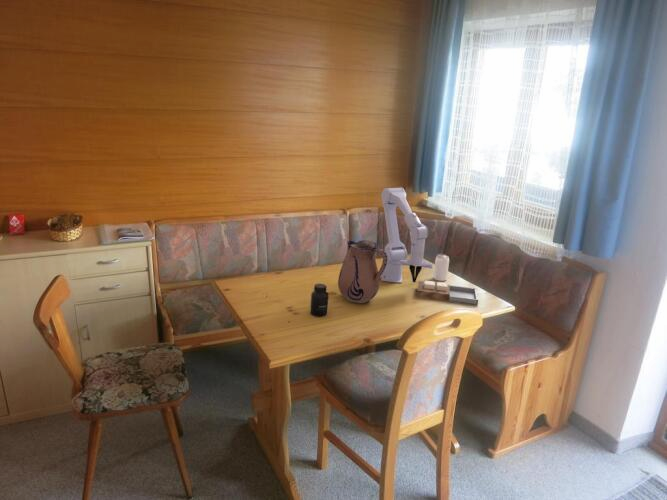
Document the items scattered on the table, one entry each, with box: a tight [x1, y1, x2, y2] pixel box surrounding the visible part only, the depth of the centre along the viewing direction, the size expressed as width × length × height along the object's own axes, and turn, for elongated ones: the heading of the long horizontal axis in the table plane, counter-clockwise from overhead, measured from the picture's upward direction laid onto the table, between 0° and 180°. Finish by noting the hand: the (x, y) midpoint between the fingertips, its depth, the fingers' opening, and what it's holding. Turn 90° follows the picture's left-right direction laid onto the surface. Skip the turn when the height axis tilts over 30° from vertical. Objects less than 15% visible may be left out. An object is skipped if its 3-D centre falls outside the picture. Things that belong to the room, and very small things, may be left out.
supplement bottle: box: [309, 283, 329, 318], centre depth 191 cm, size 7×7×12 cm
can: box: [433, 253, 450, 282], centre depth 236 cm, size 6×6×12 cm
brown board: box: [416, 280, 451, 302], centre depth 218 cm, size 14×12×3 cm
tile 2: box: [436, 281, 448, 291], centre depth 217 cm, size 4×4×2 cm
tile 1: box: [424, 280, 436, 289], centre depth 218 cm, size 4×4×2 cm
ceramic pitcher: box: [337, 239, 388, 304], centre depth 204 cm, size 18×21×25 cm
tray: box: [448, 284, 479, 306], centre depth 216 cm, size 12×14×2 cm
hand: (414, 281), depth 219 cm, fingers closed
